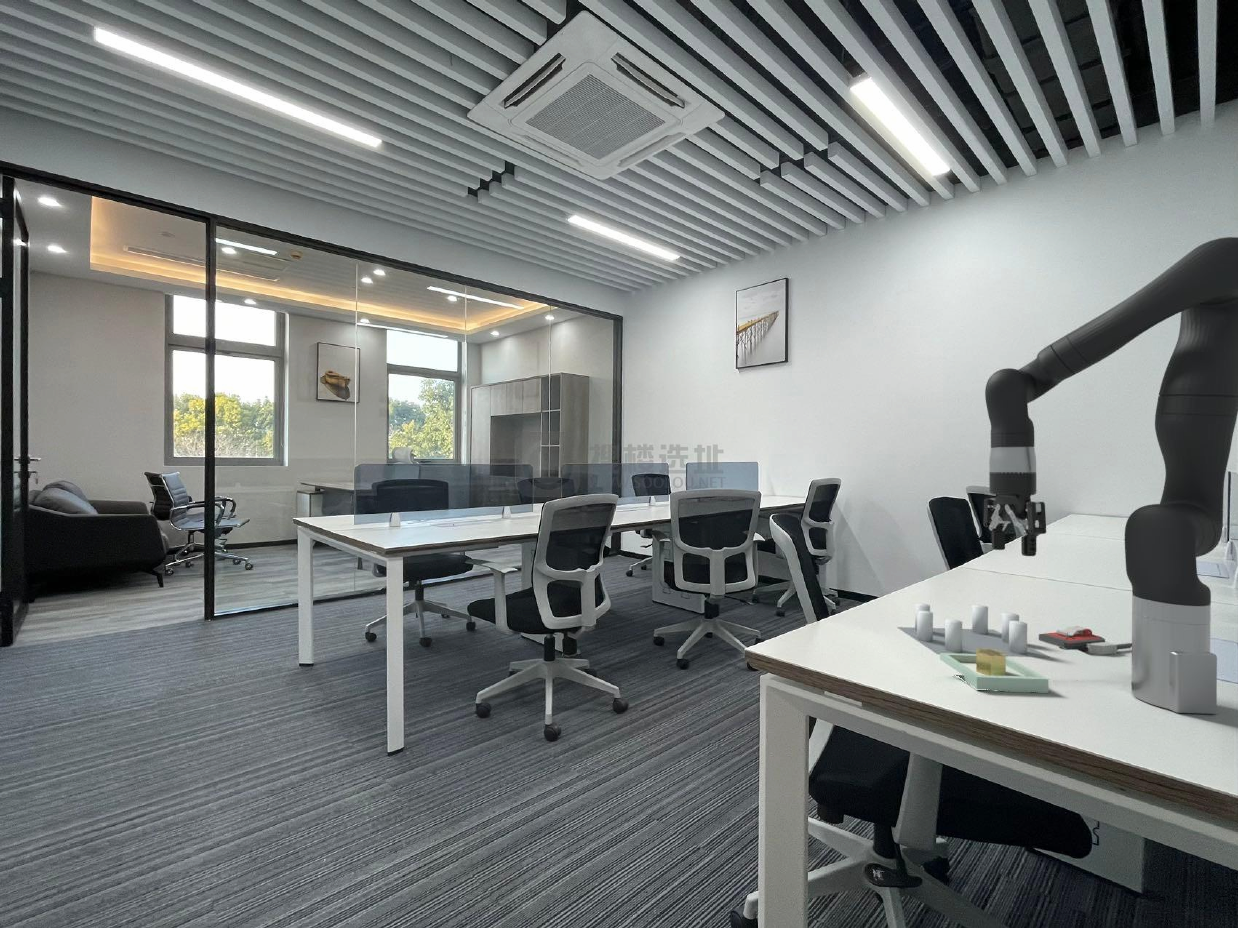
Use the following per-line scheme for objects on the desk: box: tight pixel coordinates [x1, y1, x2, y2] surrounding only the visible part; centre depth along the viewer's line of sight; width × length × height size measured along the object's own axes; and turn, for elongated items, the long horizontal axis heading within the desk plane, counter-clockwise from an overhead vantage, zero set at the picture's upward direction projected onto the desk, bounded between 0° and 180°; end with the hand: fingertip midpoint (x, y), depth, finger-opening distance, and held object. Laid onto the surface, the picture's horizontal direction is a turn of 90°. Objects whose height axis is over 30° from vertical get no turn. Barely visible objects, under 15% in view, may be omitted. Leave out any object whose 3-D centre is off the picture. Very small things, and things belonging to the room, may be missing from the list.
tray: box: [939, 653, 1050, 694], centre depth 100 cm, size 12×12×2 cm
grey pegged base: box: [896, 602, 1050, 658], centre depth 117 cm, size 18×22×7 cm
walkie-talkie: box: [1038, 625, 1132, 656], centre depth 117 cm, size 9×4×20 cm
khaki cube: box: [975, 648, 1007, 676], centre depth 100 cm, size 4×5×4 cm
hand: (1012, 552), depth 106 cm, fingers open, 8 cm apart
